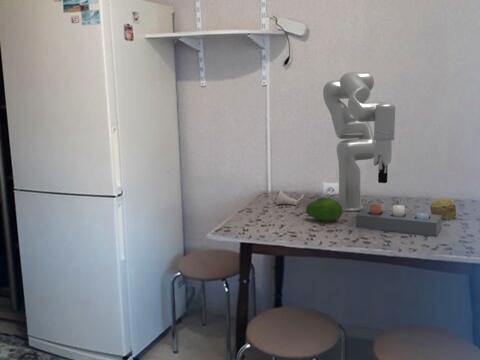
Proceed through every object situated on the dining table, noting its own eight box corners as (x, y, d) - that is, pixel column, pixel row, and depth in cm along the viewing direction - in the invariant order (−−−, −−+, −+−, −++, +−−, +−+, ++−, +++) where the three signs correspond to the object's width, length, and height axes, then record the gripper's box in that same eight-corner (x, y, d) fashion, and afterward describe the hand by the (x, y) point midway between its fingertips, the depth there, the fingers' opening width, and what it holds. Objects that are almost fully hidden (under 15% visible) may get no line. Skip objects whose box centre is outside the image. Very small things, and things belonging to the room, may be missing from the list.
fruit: (303, 222, 205) (302, 199, 203) (310, 216, 214) (309, 194, 212) (339, 225, 198) (339, 201, 197) (344, 219, 207) (344, 196, 205)
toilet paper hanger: (295, 212, 232) (299, 197, 230) (275, 206, 234) (279, 191, 232) (303, 204, 254) (307, 189, 252) (284, 198, 256) (288, 184, 255)
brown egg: (368, 217, 196) (368, 205, 195) (371, 214, 199) (371, 202, 198) (379, 218, 193) (379, 206, 192) (382, 215, 197) (382, 203, 196)
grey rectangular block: (356, 227, 195) (356, 214, 194) (365, 219, 205) (365, 208, 204) (436, 236, 180) (436, 223, 179) (441, 227, 190) (442, 215, 189)
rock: (452, 229, 199) (466, 208, 198) (427, 215, 200) (440, 194, 199) (446, 224, 209) (459, 204, 207) (422, 211, 210) (435, 191, 208)
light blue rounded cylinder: (415, 227, 187) (415, 214, 186) (417, 224, 190) (417, 212, 190) (427, 228, 185) (427, 216, 184) (429, 226, 188) (429, 213, 187)
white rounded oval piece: (391, 219, 191) (391, 207, 190) (394, 216, 195) (394, 204, 194) (402, 220, 189) (403, 208, 188) (405, 218, 192) (405, 205, 192)
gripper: (378, 133, 197) (377, 178, 201) (369, 138, 184) (368, 185, 188) (398, 134, 194) (396, 179, 197) (389, 138, 181) (388, 187, 185)
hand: (382, 182), depth 193 cm, fingers closed
